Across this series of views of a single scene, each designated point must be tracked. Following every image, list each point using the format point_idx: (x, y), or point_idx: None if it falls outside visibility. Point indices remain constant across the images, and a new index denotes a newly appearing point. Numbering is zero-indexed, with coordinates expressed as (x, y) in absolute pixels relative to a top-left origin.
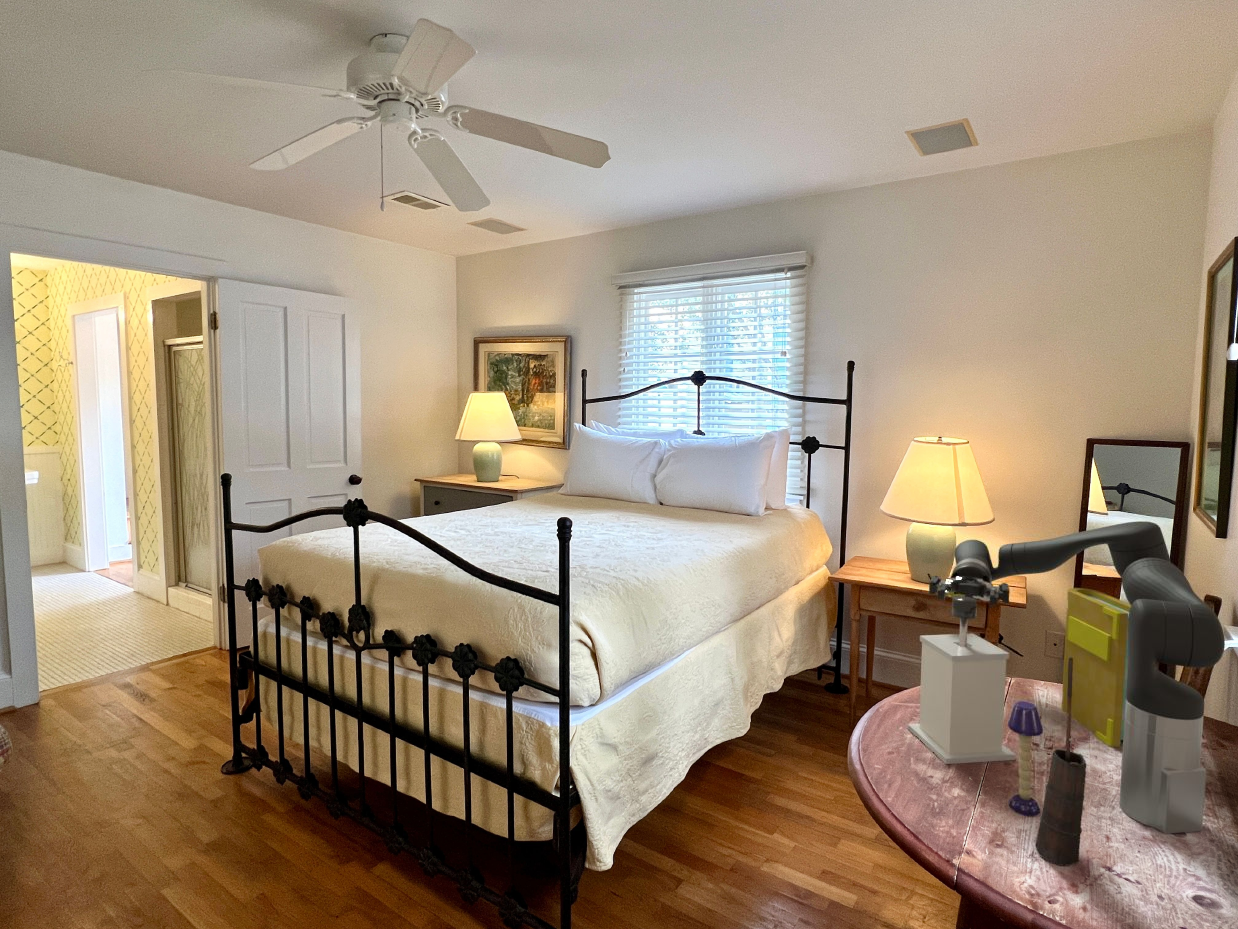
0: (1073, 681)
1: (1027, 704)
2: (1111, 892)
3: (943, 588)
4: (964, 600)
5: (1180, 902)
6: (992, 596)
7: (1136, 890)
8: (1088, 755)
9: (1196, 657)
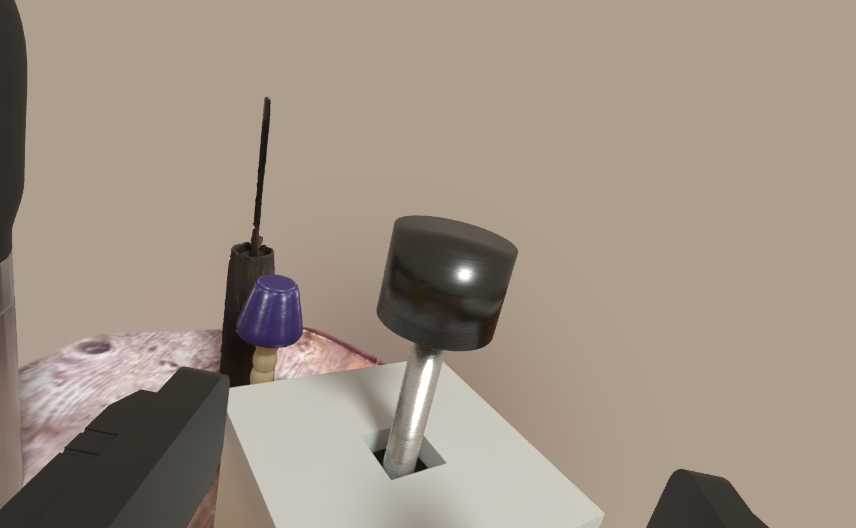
0: None
1: (273, 282)
2: (211, 350)
3: (723, 503)
4: (455, 229)
5: (132, 345)
6: (204, 371)
7: (176, 353)
8: None
9: None
